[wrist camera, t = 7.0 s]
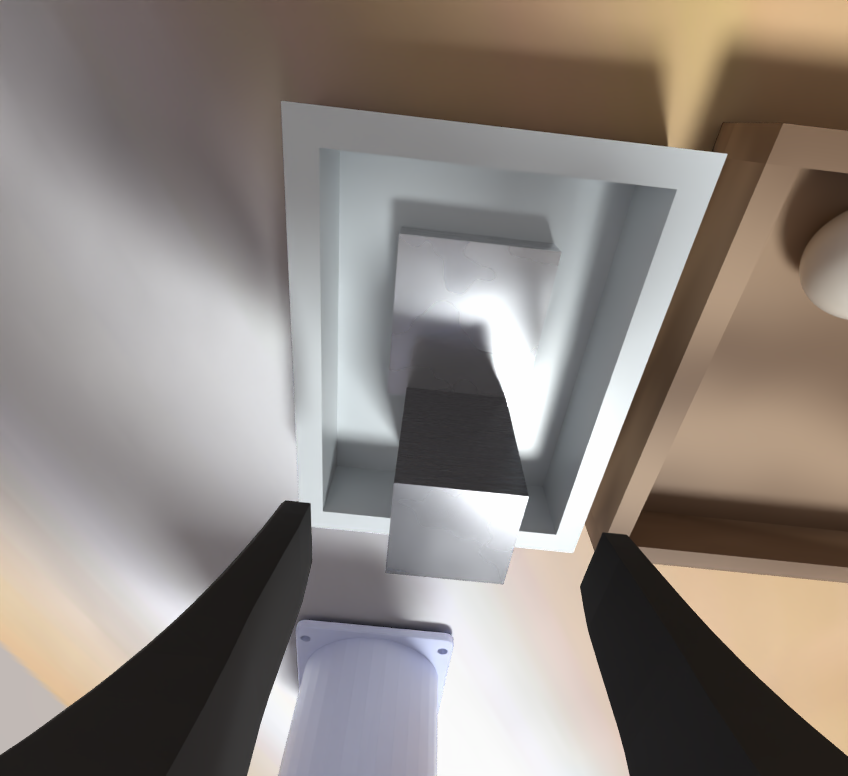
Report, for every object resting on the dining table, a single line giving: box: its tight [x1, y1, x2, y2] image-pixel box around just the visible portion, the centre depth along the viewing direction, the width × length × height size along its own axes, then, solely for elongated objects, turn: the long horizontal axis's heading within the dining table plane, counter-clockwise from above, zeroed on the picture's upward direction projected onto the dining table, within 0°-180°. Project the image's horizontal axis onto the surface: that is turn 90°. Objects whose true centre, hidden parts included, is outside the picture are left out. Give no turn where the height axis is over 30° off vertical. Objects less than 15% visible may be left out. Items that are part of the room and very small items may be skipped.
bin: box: [281, 101, 727, 553], centre depth 14 cm, size 13×10×3 cm
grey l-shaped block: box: [386, 226, 561, 584], centre depth 13 cm, size 8×4×6 cm, turn 174°
